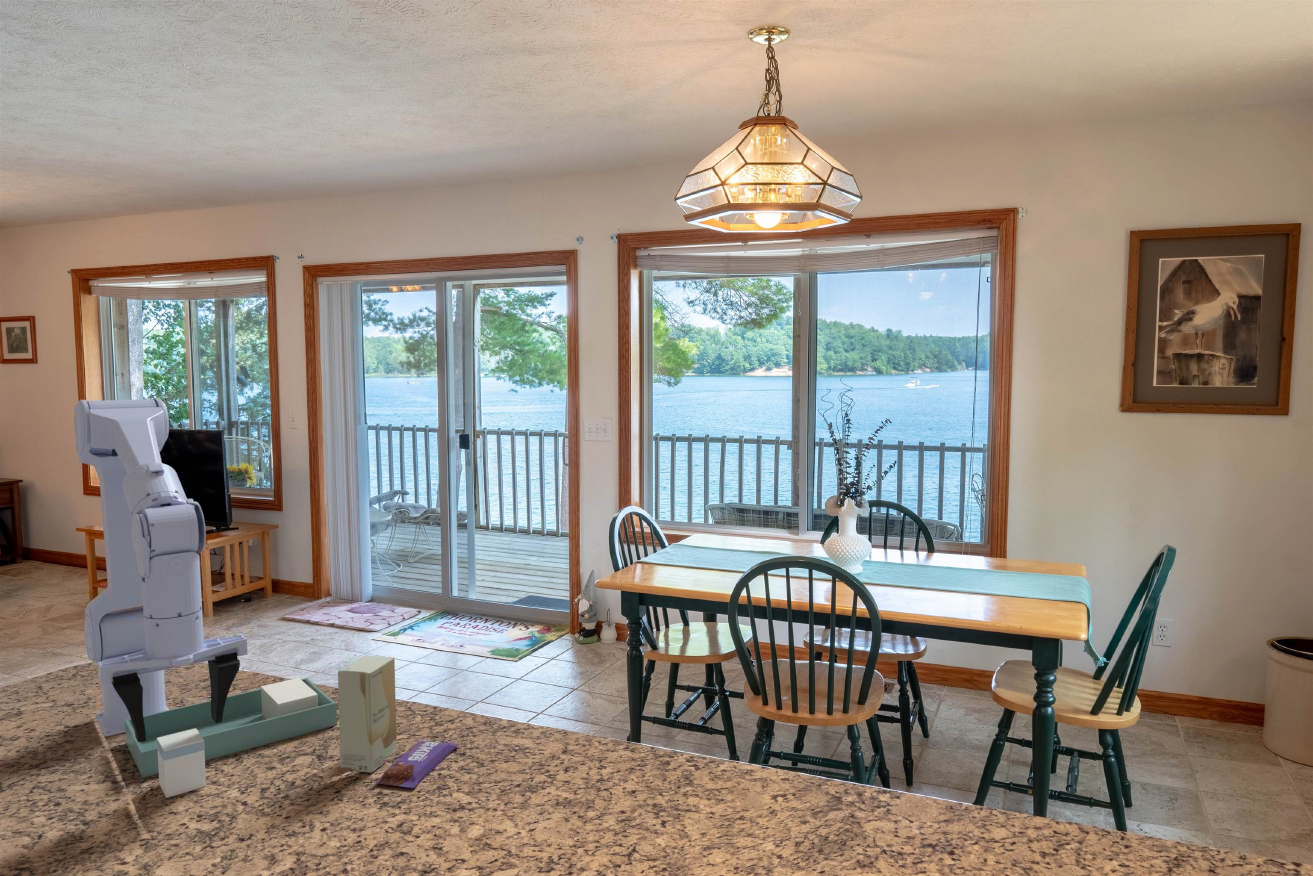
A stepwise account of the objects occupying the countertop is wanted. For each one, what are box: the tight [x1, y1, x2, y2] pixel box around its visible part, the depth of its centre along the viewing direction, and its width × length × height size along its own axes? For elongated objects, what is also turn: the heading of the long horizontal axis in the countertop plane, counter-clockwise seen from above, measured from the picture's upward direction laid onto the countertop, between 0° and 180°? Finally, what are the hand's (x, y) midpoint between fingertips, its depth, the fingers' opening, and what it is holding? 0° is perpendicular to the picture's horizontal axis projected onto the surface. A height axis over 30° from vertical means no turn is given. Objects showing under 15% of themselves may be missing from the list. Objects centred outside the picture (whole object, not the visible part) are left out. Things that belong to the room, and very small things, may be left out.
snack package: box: [374, 740, 460, 789], centre depth 102 cm, size 12×2×5 cm
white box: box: [260, 677, 318, 719], centre depth 114 cm, size 8×5×4 cm, turn 40°
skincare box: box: [337, 655, 398, 773], centre depth 103 cm, size 6×4×12 cm
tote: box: [125, 677, 338, 779], centre depth 110 cm, size 12×22×4 cm, turn 130°
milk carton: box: [156, 728, 207, 799], centre depth 96 cm, size 4×4×6 cm
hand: (179, 729), depth 96 cm, fingers open, 7 cm apart
